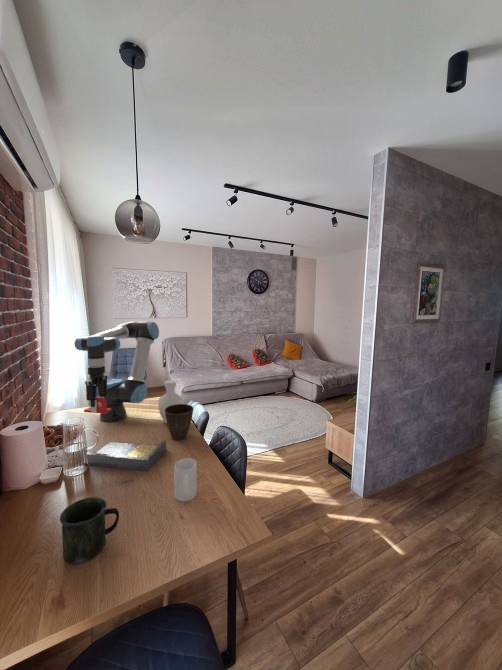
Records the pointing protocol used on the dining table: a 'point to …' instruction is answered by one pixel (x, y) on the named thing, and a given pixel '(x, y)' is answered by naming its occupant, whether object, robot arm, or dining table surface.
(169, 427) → the plant pot
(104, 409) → the bracket
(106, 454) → the tray
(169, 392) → the vase
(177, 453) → the dining table surface
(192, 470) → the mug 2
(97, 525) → the mug
